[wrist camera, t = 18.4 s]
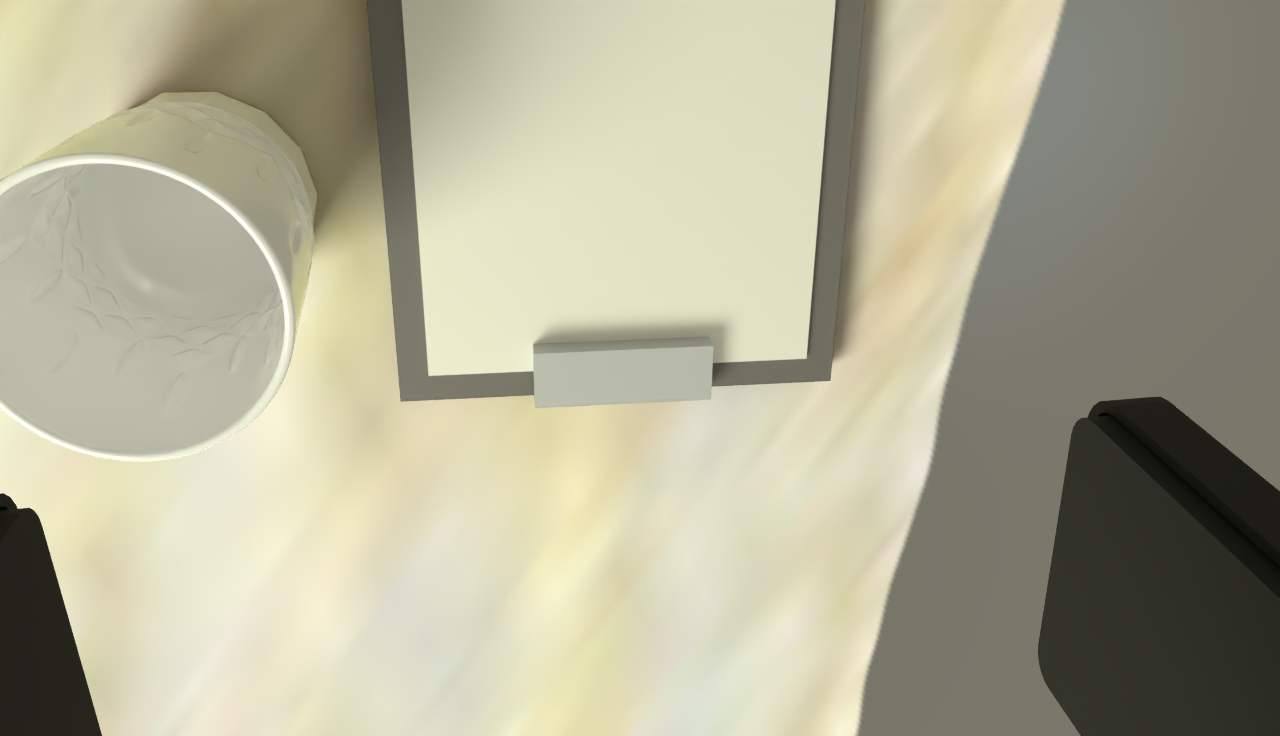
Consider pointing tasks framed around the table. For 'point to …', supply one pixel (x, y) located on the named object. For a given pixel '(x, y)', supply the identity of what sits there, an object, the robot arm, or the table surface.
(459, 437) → the table surface
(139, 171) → the white cup
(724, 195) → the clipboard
